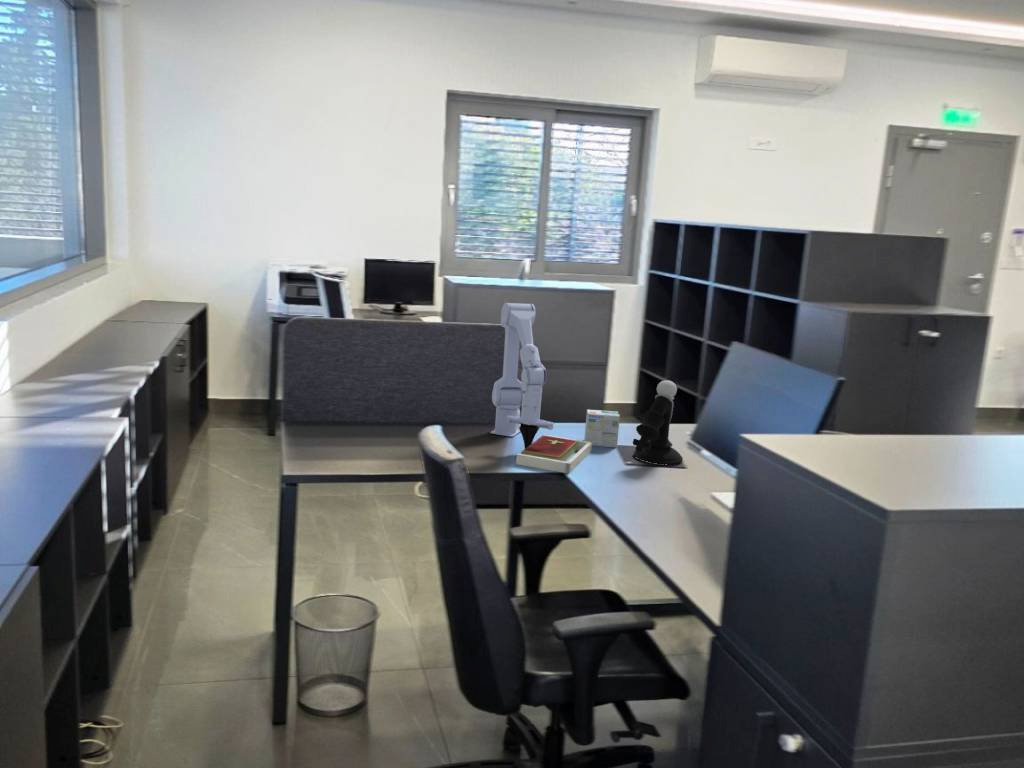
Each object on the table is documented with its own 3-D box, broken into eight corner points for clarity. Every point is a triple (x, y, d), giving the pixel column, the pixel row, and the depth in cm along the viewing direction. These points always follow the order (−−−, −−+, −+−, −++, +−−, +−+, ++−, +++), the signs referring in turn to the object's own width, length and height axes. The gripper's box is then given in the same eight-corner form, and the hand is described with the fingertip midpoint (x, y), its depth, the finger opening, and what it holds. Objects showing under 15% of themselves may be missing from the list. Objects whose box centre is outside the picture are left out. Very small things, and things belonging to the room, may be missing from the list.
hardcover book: (519, 463, 255) (520, 449, 254) (540, 446, 274) (542, 434, 273) (558, 470, 251) (559, 456, 250) (577, 452, 270) (578, 440, 270)
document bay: (542, 443, 276) (543, 434, 276) (591, 451, 271) (592, 442, 271) (516, 464, 252) (516, 454, 251) (569, 473, 247) (570, 463, 246)
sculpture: (689, 459, 272) (699, 382, 267) (659, 475, 252) (669, 392, 247) (645, 448, 280) (653, 373, 275) (613, 463, 260) (621, 383, 255)
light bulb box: (615, 442, 284) (618, 411, 282) (617, 448, 278) (620, 415, 276) (583, 440, 285) (586, 408, 282) (584, 445, 278) (587, 413, 276)
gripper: (504, 404, 260) (501, 447, 262) (550, 411, 255) (546, 455, 258) (512, 400, 266) (508, 442, 269) (556, 407, 262) (553, 449, 264)
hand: (527, 448), depth 264 cm, fingers closed
